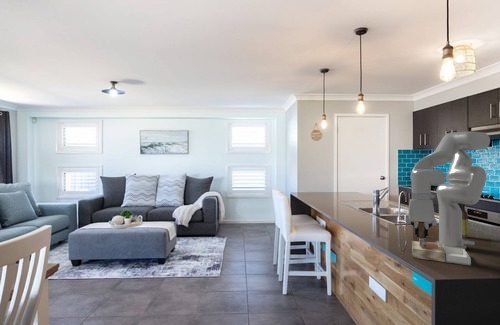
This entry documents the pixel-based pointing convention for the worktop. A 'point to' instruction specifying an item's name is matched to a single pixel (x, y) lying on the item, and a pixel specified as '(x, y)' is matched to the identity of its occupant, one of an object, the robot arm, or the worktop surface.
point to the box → (457, 256)
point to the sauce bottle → (464, 221)
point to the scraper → (421, 233)
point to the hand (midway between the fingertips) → (421, 236)
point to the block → (431, 245)
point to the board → (428, 252)
